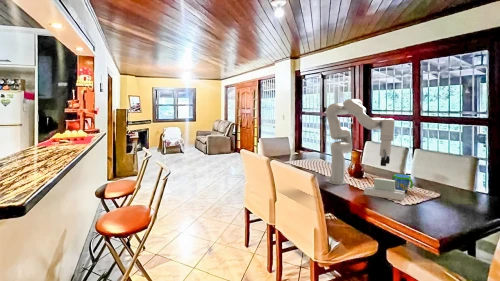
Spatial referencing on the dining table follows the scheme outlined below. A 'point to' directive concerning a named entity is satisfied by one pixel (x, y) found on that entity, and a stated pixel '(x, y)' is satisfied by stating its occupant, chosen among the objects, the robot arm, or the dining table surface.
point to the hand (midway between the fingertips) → (384, 164)
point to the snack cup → (402, 182)
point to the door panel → (384, 184)
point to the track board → (384, 193)
